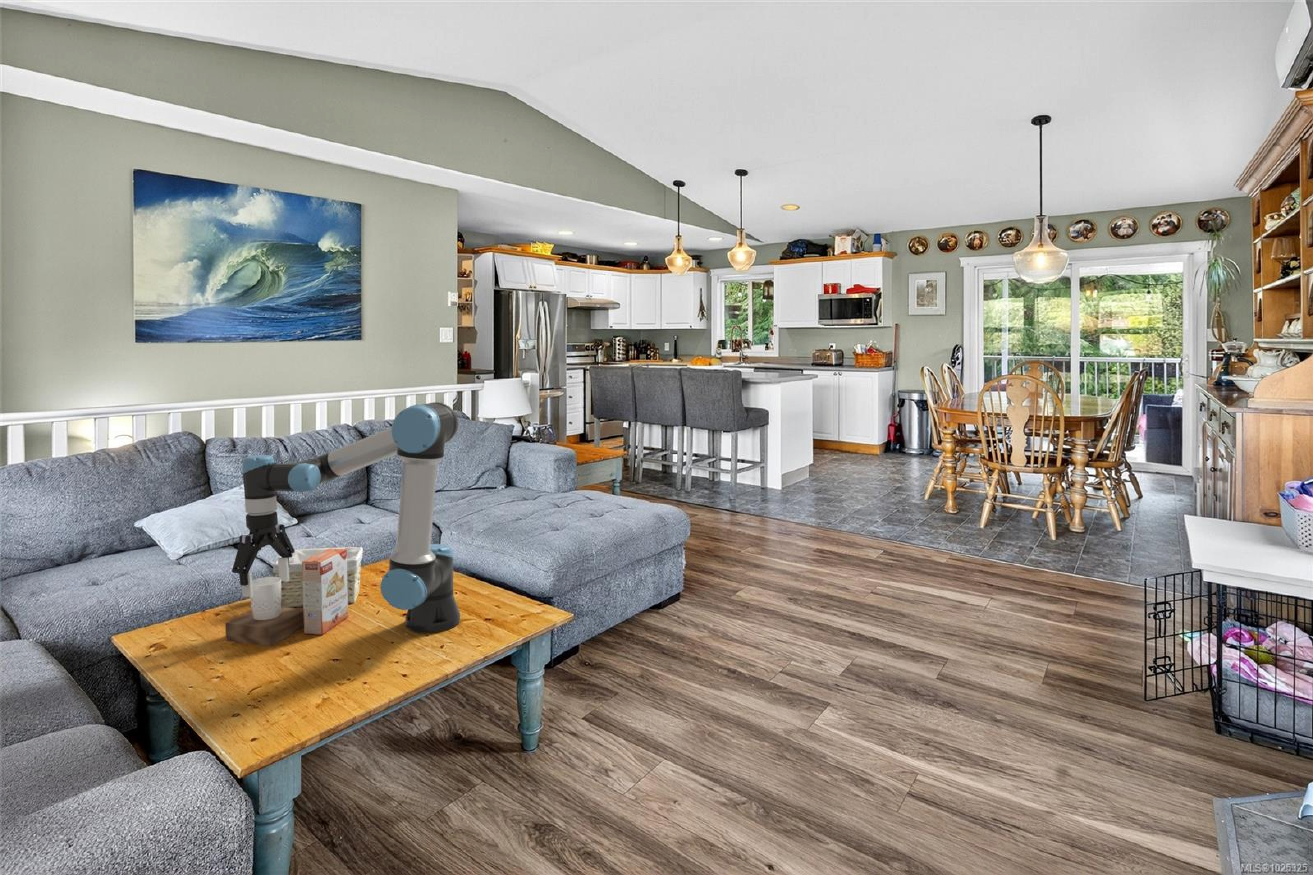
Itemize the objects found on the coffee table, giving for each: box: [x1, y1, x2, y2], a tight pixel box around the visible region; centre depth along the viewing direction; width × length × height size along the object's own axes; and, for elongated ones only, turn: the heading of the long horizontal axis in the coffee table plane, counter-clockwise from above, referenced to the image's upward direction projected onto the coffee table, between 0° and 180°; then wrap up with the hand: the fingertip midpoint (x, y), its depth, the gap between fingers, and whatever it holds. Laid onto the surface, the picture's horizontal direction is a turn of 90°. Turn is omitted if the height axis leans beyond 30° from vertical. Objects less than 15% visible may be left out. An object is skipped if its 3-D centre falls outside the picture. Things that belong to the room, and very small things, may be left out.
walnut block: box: [224, 607, 304, 647], centre depth 197 cm, size 14×14×5 cm
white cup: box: [249, 576, 281, 620], centre depth 196 cm, size 8×8×10 cm
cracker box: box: [302, 547, 349, 636], centre depth 202 cm, size 14×6×21 cm, turn 175°
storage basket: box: [272, 546, 364, 608], centre depth 224 cm, size 24×16×15 cm
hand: (266, 588), depth 196 cm, fingers open, 13 cm apart
